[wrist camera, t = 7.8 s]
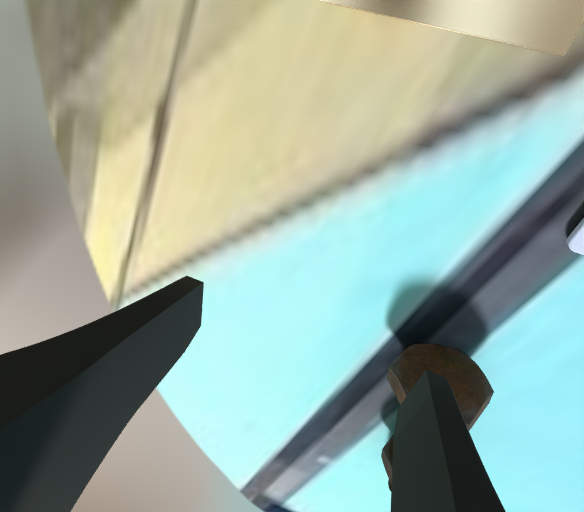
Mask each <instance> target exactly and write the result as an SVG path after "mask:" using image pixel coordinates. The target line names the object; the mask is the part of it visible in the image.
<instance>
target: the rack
mask: <svg viewBox="0 0 584 512" xmlns="http://www.w3.org/2000/svg"><path fill="white" fill-rule="evenodd" d="M319 1H323V2H327V3H332V4H336V5H340V6H345V7H349V8H354V9H358V10H362V11H367V12H371V13H375V14H380V15H384V16H388V17H393V18H397V19H401V20H406V21H410V22H415V23H419V24H423V25H428V26H432V27H436V28H441V29H445V30H449V31H454V32H458V33H462V34H467V35H471V36H476V37H480V38H484V39H489V40H493V41H497V42H502V43H506V44H510V45H515V46H519V47H523V48H528V49H532V50H537V51H541V52H545V53H550V54H554V55H562V56H564V55H565V54H566V52H567V50H568V48H569V47H570V45H571V43H572V42H573V40H574V38H575V36H576V35H577V33H578V31H579V29H580V28H581V26H582V24H583V23H584V0H319Z"/></svg>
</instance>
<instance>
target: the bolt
mask: <svg viewBox="0 0 584 512" xmlns="http://www.w3.org/2000/svg"><path fill="white" fill-rule="evenodd" d="M425 370H428V371H431V372H434V373H436V374H439V375H441V376H444V377H446V378H447V379H448V381H449V383H450V386H451V388H452V391H453V393H454V396H455V399H456V401H457V404H458V406H459V409H460V411H461V414H462V416H463V419H464V421H465V424H466V426H467V428H468V431H469V430H470V429H471V428H472V426H473V425H474V423H475V422H476V421H477V419H478V418H479V416H480V415H481V414H482V412H483V411H484V409H485V408H486V407H487V405H488V404H489V402H490V400H491V397H492V395H493V393H494V391H493V389H492V387H491V385H490V383H489V381H488V379H487V378H486V376H485V375H484V373H483V372H482V370H481V369H480V368H479V366H478V365H477V364H476V363H475V362H474V361H473V360H472V359H471V358H470V357H468V356H467V355H465V354H464V353H462V352H460V351H458V350H456V349H453V348H450V347H445V346H441V345H436V344H430V343H419V344H413V345H411V346H409V347H408V348H407V349H405V350H404V351H403V352H402V353H401V354H400V355H399V356H398V357H397V358H396V360H395V361H394V362H393V364H392V365H391V366H390V368H389V372H388V378H387V379H388V381H389V383H390V385H391V387H392V389H393V391H394V393H395V395H396V397H397V399H398V401H399V403H400V405H401V404H402V402H403V401H404V399H405V398H406V397H407V395H408V394H409V392H410V391H411V390H412V388H413V387H414V385H415V384H416V383H417V381H418V380H419V378H420V377H421V376H422V374H423V373H424V372H425ZM393 441H394V435H393V436H392V437H391V438H390V440H389V441H388V442H387V443H386V445H385V446H384V448H383V449H382V455H381V457H382V460H383V464H384V467H385V470H386V472H387V475H388V477H389V481H388V484H389V489H390V491H391V492H392V463H393Z"/></svg>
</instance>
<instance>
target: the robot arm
mask: <svg viewBox="0 0 584 512" xmlns="http://www.w3.org/2000/svg"><path fill="white" fill-rule="evenodd" d="M567 245H568V246H569V248H570V249H571V250H572V251H574V252H576V253H580V254H583V255H584V218H583V219H582V221H581V222H580V223H579V224H578V225H577V227H576V228H575V229H574V230H573V232H572V233H571V234H570V235H569V237H568V239H567ZM203 285H204V282H201V281H199V280H196V279H194V278H191V277H189V276H185V277H183V278H181V279H179V280H177V281H175V282H173V283H171V284H170V285H168V286H166V287H164V288H162V289H160V290H158V291H156V292H154V293H152V294H150V295H148V296H146V297H144V298H142V299H140V300H138V301H136V302H134V303H132V304H130V305H128V306H126V307H124V308H122V309H120V310H118V311H116V312H114V313H111V314H109V315H107V316H105V317H103V318H100V319H98V320H96V321H93V322H91V323H89V324H87V325H84V326H82V327H79V328H77V329H74V330H72V331H69V332H67V333H64V334H62V335H59V336H56V337H53V338H51V339H48V340H46V341H43V342H40V343H37V344H34V345H31V346H28V347H24V348H21V349H18V350H15V351H11V352H8V353H5V354H2V355H0V512H70V511H71V510H72V508H73V506H74V505H75V503H76V502H77V500H78V498H79V497H80V495H81V494H82V492H83V490H84V489H85V487H86V485H87V484H88V482H89V481H90V479H91V478H92V476H93V474H94V473H95V472H96V470H97V468H98V467H99V465H100V464H101V462H102V461H103V459H104V458H105V456H106V454H107V453H108V451H109V450H110V448H111V447H112V445H113V444H114V442H115V441H116V440H117V438H118V436H119V435H120V434H121V432H122V431H123V429H124V428H125V426H126V425H127V423H128V422H129V420H130V419H131V418H132V416H133V415H134V414H135V413H136V411H137V410H138V408H139V407H140V406H141V405H142V404H143V403H144V401H145V400H146V399H147V398H148V396H149V395H150V394H151V393H152V391H153V390H154V389H155V388H156V387H157V385H158V384H159V383H160V382H161V380H162V379H163V378H164V377H165V376H166V374H167V373H168V372H169V371H170V369H171V368H172V367H173V366H174V364H175V363H176V362H177V361H178V359H179V358H180V357H181V356H182V354H183V353H184V352H185V350H186V349H187V347H188V346H189V344H190V342H191V341H192V339H193V338H194V336H195V334H196V333H197V331H198V330H199V328H200V326H201V316H202V301H203ZM391 512H505V510H504V508H503V506H502V503H501V501H500V499H499V497H498V495H497V493H496V491H495V489H494V487H493V485H492V483H491V481H490V479H489V476H488V474H487V472H486V470H485V468H484V465H483V463H482V461H481V459H480V456H479V454H478V452H477V450H476V447H475V445H474V443H473V440H472V438H471V436H470V433H469V431H468V428H467V426H466V424H465V421H464V419H463V416H462V414H461V411H460V409H459V406H458V404H457V401H456V399H455V396H454V393H453V391H452V388H451V386H450V383H449V381H448V379H447V378H446V377H444V376H441V375H439V374H436V373H434V372H431V371H428V370H425V372H424V373H423V374H422V376H421V377H420V378H419V380H418V381H417V383H416V384H415V385H414V387H413V388H412V390H411V391H410V392H409V394H408V395H407V397H406V398H405V399H404V401H403V402H402V404H401V405H400V406H399V409H398V415H397V421H396V427H395V434H394V441H393V463H392V492H391Z"/></svg>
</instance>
